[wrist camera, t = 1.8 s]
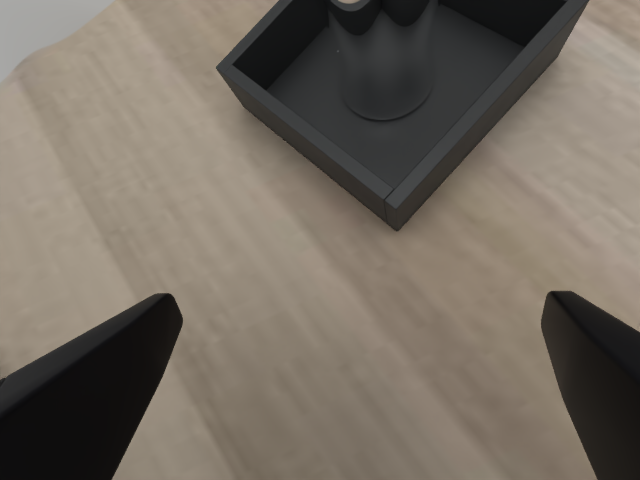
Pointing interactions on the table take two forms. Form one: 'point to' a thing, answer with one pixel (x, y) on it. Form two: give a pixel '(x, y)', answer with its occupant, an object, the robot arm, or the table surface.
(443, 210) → the table surface
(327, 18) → the metal tumbler
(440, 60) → the bin
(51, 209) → the table surface
